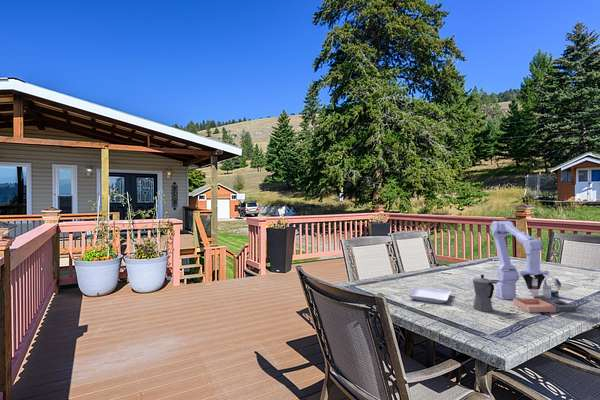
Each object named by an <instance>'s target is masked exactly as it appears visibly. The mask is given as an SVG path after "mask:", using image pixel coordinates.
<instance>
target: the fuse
mask: <svg viewBox="0 0 600 400" xmlns="http://www.w3.org/2000/svg"><path fill="white" fill-rule="evenodd" d="M551 290H552V285H549V284H547V285H544V284H543V285H542V295H543V298H544V299H551Z"/></svg>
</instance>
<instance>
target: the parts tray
mask: <svg viewBox="0 0 600 400" xmlns="http://www.w3.org/2000/svg"><path fill="white" fill-rule="evenodd" d="M512 300H513V303H512V304H513V305H514V306H515V307H518V308H519V309H521V310H523V311H525V312H527V313H528V314H534V313H535V314H536V313H537V312H538V313H539V312H550V313H557V310H556V306H554V305H552V304H549V303H547V302H545V301H543V300H540V299H538V298H535V299H534V298H519V299H512Z"/></svg>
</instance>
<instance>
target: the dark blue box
mask: <svg viewBox="0 0 600 400" xmlns="http://www.w3.org/2000/svg"><path fill="white" fill-rule="evenodd" d="M548 279H552V281H553V283H554V285H555V286H556V288H557V290H554V289H551V296H552V297H554V298H556V299H558V298H559V290H561V288H562V283H561V282H560V280H559V278H556V277H554V276H550V277H545V278H544V280H543V285H548V284H547V280H548Z"/></svg>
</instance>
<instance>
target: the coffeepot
mask: <svg viewBox="0 0 600 400" xmlns="http://www.w3.org/2000/svg"><path fill="white" fill-rule="evenodd" d="M472 284H473V289H474V293H475V295H474V298H473V299H474V300H473V305H472V306H473V310H475V311H478V312H483V313H490V312H493V309H494V308H493V303H492V298H493V294H494V291H495V285H494V282H493V280H492V279H488V278H485V275H484V274H480V277H474V278H472Z"/></svg>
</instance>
